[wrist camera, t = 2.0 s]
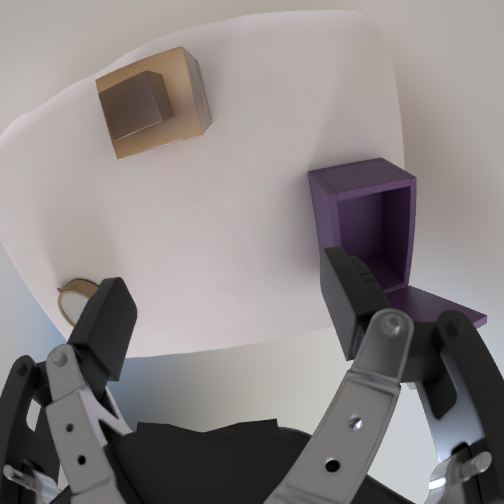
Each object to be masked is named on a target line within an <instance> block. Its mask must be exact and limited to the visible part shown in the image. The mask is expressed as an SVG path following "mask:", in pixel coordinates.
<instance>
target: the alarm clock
mask: <svg viewBox="0 0 504 504" xmlns="http://www.w3.org/2000/svg"><path fill="white" fill-rule="evenodd" d="M98 288H99V287H97V286H96V285H94V284H92V283H90V282H87V281H85V280H73V281H70V282H69V283H68V284H67V286H66V287H65V289H64V290H61V289H60V288H57V290H58V291H59V292H60V293H61V294H60V295H59V297H58V306H59V310H60V311H61V313H62V315H63V317H64V318H65V319H66V321H67V322H68V323H69V324H70V325H71V326H73V327H75V325H76V323H77V321H78V319H80V315H81V313H82V311H83V309H84V307H85V305H86V303H87V301H88V300H89V299H90V297H91V296H92V295H93V294H94V293H95V292H97V290H98Z"/></svg>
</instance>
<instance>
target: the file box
mask: <svg viewBox="0 0 504 504" xmlns="http://www.w3.org/2000/svg"><path fill="white" fill-rule="evenodd" d="M308 178H309V184H310V189H311V195H312V201H313V208H314V214H315V221H316V228H317V235H318V242H319V249H320V257H321V248H325V247H331V246H338V245H341V246H342V247H343V249H344V251H345V252H346V254H347V256H348V257H352V256H356V257H358V258H359V259H360V260H362V261H363V262H365V263H366V265H367V266H368V268H369V269H370V271H371V274H373V276H374V277H375V279H376V281H377V282H378V284H379V285H380V287H381V288H382V290H383V292H384V293H388V292H391V291H394V290H397V289H400V288H403V287H406V286H408V283H409V276H410V270H411V262H412V252H413V243H414V232H415V215H416V177H415V176H413V175H411V174H410V173H408V172H406V171H405V170H403V169H401V168H399V167H398V166H396V165H394V164H392V163H390V162H389V161H387V160H385V159H383V158H378V159H372V160H366V161H360V162H354V163H349V164H344V165H338V166H333V167H328V168H323V169H319V170H314V171H309V172H308Z"/></svg>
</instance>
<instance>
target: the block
mask: <svg viewBox="0 0 504 504" xmlns="http://www.w3.org/2000/svg"><path fill="white" fill-rule="evenodd" d="M98 95H99V98H100V101H101V105H102V108H103V111H104V114H105V117H106V120H107V123H108V126H109V129H110V132H111V135H112V137H113V140H114V141H116V140H119V139H121V138H123V137H125V136H128V135H130V134H132V133H134V132H137V131H139V130H142V129H144V128H146V127H149V126H151V125H154V124H157V123H159V122H162V121H164V120H167V119H170V118H172V117H174V116H175V115H174V112H173V109H172V106H171V103H170V100H169V96H168V93H167V90H166V87H165V83H164V80H163V77H162V74H159V73H156V72H152V71H148V70H146V71H144V72H141V73H139V74H137V75H135V76H132V77H130V78H128V79H126V80H124V81H122V82H120V83H118V84H116V85H114V86H112V87H110V88H108V89H106V90H104V91H102V92H100V93H99V94H98Z"/></svg>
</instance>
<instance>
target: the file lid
mask: <svg viewBox="0 0 504 504" xmlns="http://www.w3.org/2000/svg"><path fill="white" fill-rule="evenodd" d="M385 295H386V297H387V298H388V300H389V302H390V303H391V305H392V307H393V308H394V309H397V310H400V311H402V312H404V313H406V314H407V315H408V316H409V317H410V318H411V320H412V321H417V322H436V321H437V318H438V316H439V315H440V314H441V313H442V312H443V311H445V310H458V311H460V312H462V313H464V314H465V315H467V316H468V317H469V319H470V320H471V322H472V323H473V325H474V326H475V328H476V329H477V328H479V327H481V326H482V325H484V324H486V323H487V315H485V314H482V313H480V312H477V311H474V310H472V309H470V308H467V307H465V306H462V305H459V304H457V303H454V302H452V301H449V300H447V299H444V298H441V297H439V296H436V295H433V294H431V293H428V292H426V291H423V290H420V289H418V288H415V287H412V286H406V287H403V288H400V289H397V290H394V291H391V292H388V293H385ZM407 385H408V387H409V389H411V390H414V389H416V386H415V383H414V382H411V383H407Z"/></svg>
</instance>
